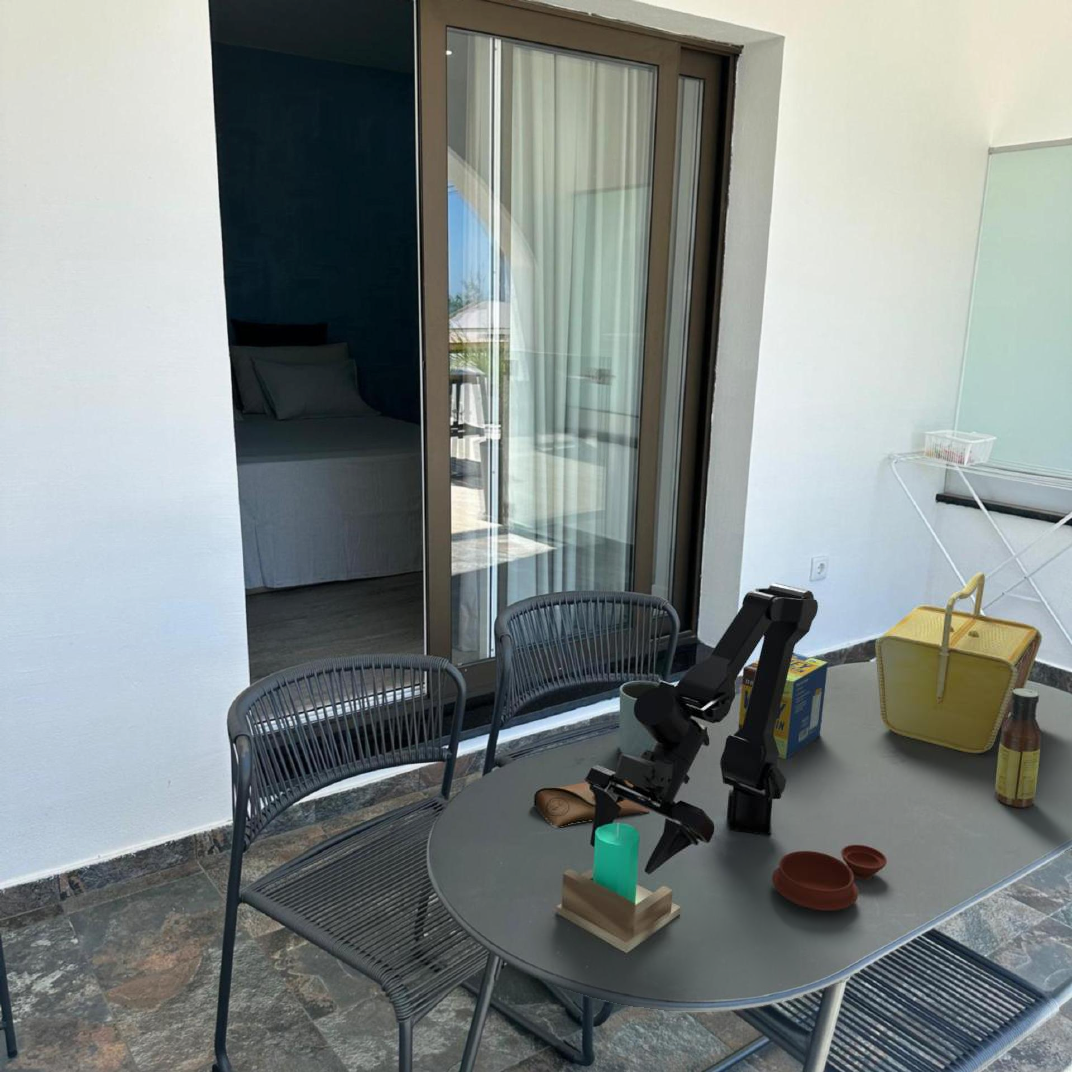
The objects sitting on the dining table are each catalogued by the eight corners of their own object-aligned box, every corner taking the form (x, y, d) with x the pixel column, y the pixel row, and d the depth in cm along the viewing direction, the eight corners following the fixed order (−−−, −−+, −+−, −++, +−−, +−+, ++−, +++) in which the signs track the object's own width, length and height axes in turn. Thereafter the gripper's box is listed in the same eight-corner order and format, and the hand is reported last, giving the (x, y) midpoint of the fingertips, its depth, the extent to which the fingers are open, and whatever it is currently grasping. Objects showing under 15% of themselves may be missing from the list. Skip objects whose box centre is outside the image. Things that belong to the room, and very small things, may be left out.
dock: (611, 877, 140) (613, 840, 139) (680, 913, 132) (683, 873, 131) (556, 912, 131) (557, 873, 130) (626, 953, 124) (629, 911, 122)
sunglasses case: (552, 830, 152) (545, 786, 154) (537, 832, 159) (531, 790, 161) (653, 812, 159) (645, 771, 161) (635, 814, 165) (628, 775, 167)
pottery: (753, 890, 138) (756, 862, 138) (842, 850, 150) (845, 824, 149) (819, 933, 129) (823, 904, 128) (909, 887, 141) (913, 859, 140)
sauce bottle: (1032, 797, 169) (1049, 689, 164) (1034, 812, 163) (1051, 702, 159) (991, 788, 171) (1007, 682, 167) (991, 803, 166) (1007, 694, 161)
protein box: (735, 743, 186) (742, 667, 183) (773, 719, 198) (779, 647, 195) (786, 760, 180) (793, 681, 176) (821, 735, 191) (829, 660, 188)
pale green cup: (615, 737, 187) (618, 679, 184) (667, 739, 187) (671, 681, 184) (617, 761, 177) (621, 699, 174) (673, 763, 177) (677, 702, 174)
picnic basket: (904, 688, 218) (920, 559, 211) (1030, 718, 203) (1052, 580, 196) (863, 730, 194) (879, 586, 188) (1002, 767, 180) (1025, 612, 173)
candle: (593, 915, 129) (597, 834, 127) (590, 889, 135) (594, 811, 133) (638, 916, 130) (643, 835, 127) (632, 890, 135) (637, 812, 133)
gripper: (595, 711, 136) (540, 810, 130) (708, 754, 124) (652, 865, 118) (627, 746, 143) (575, 841, 138) (736, 789, 131) (685, 896, 126)
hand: (618, 859), depth 130 cm, fingers open, 9 cm apart
